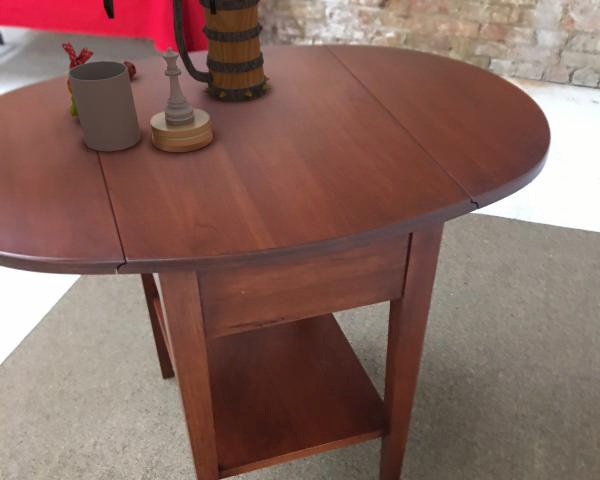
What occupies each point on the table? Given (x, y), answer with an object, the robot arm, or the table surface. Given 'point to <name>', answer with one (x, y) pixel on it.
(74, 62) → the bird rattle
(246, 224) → the table surface
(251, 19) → the mug
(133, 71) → the die
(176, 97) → the chess piece
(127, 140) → the cup
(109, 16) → the robot arm
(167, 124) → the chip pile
